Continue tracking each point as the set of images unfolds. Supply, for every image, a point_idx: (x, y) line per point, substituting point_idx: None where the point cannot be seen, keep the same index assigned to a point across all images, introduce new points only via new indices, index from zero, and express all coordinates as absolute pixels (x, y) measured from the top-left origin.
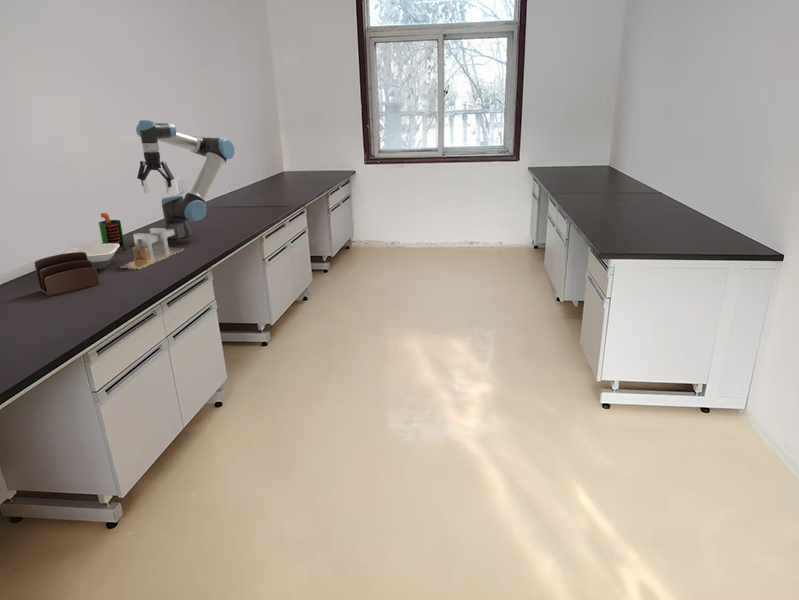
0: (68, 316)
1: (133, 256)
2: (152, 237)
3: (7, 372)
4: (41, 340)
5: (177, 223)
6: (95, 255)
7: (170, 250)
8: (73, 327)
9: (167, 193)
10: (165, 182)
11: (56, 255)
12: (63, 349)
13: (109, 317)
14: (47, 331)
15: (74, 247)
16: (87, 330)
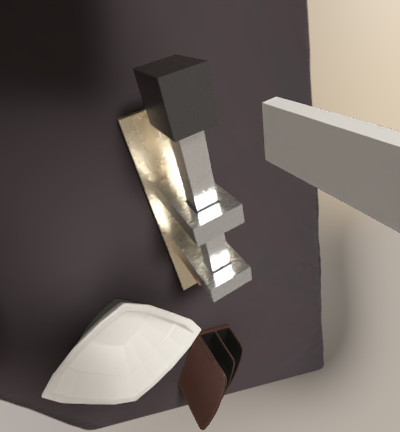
0: (279, 350)
1: (188, 270)
2: (225, 244)
3: (311, 371)
4: (296, 362)
5: (179, 79)
6: (185, 351)
7: (168, 143)
8: (300, 346)
9: (272, 159)
10: (381, 220)
11: (215, 413)
12: (319, 350)
13: (313, 323)
14: (287, 361)
15: (58, 396)
16: (314, 338)
